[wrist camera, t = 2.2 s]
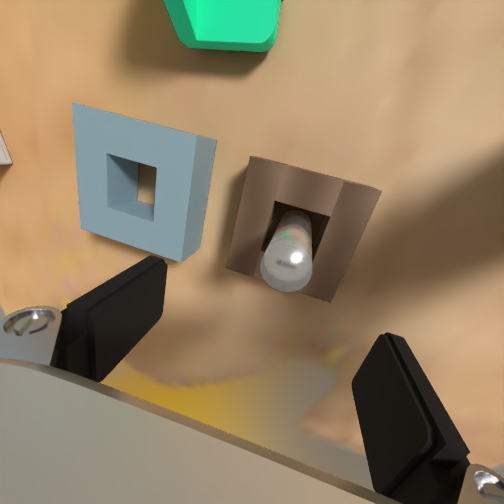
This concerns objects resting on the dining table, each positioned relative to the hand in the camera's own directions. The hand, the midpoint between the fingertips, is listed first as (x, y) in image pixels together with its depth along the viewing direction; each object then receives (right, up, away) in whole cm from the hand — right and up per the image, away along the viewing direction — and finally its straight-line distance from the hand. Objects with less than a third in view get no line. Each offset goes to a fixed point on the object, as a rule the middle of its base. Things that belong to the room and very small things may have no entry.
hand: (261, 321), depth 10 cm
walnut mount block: (+4, +6, +14) cm, 16 cm away
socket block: (-11, +11, +16) cm, 22 cm away
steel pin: (+4, +6, +14) cm, 16 cm away
